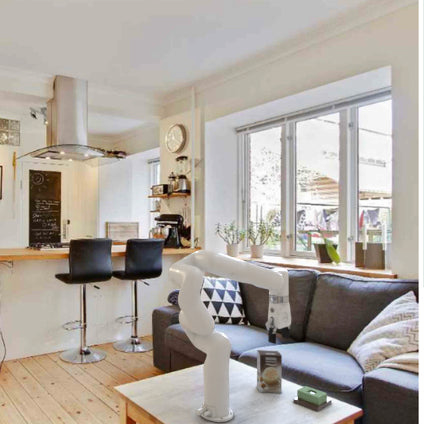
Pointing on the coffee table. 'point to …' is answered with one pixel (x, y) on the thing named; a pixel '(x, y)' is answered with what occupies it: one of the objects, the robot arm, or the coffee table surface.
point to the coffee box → (269, 371)
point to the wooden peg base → (312, 405)
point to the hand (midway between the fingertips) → (279, 340)
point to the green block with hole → (312, 395)
